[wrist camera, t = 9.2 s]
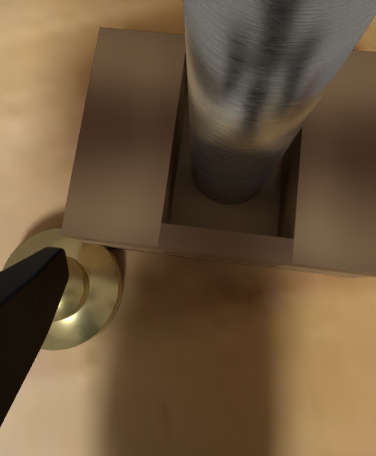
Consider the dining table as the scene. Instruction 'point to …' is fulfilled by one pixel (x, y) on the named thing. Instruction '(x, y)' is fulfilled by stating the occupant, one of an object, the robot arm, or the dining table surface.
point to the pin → (259, 81)
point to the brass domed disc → (78, 288)
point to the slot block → (184, 182)
